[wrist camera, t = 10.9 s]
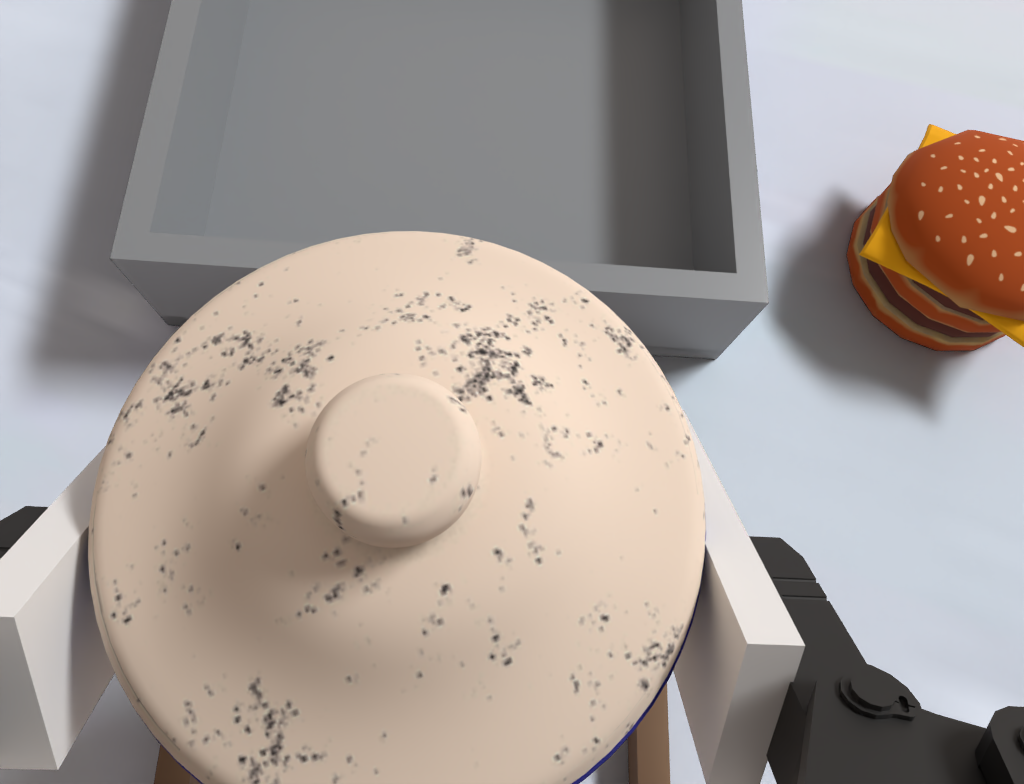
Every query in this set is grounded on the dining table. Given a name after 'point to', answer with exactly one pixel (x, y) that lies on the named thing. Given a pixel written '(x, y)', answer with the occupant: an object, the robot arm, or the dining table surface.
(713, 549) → the robot arm
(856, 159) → the dining table surface
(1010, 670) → the dining table surface
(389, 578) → the teacup with lid
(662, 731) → the brown wooden frame
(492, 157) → the bus tub
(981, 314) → the hamburger
